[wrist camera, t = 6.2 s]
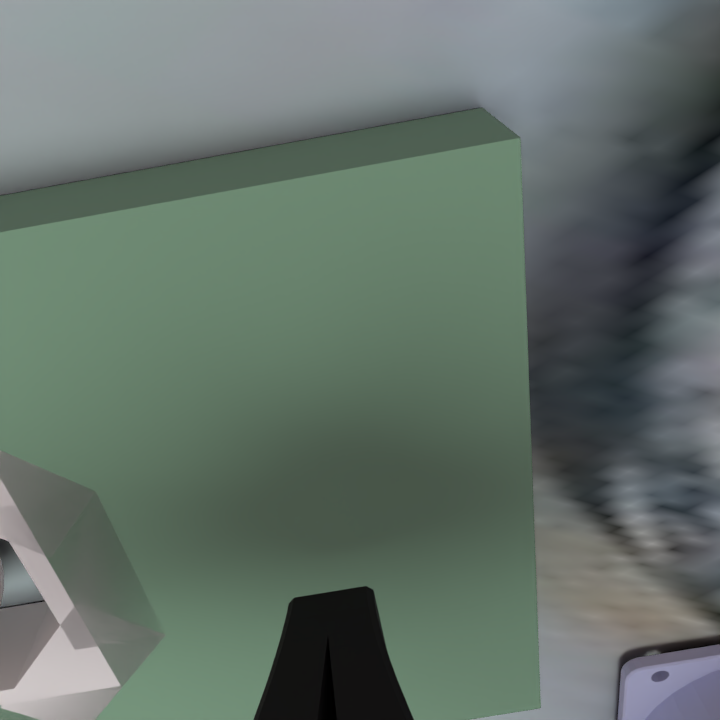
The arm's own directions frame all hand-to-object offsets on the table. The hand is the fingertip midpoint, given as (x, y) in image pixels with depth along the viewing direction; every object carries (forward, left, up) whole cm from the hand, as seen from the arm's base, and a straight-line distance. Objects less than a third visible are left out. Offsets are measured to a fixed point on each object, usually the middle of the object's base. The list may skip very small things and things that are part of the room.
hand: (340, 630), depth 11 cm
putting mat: (+5, 0, -5) cm, 7 cm away
